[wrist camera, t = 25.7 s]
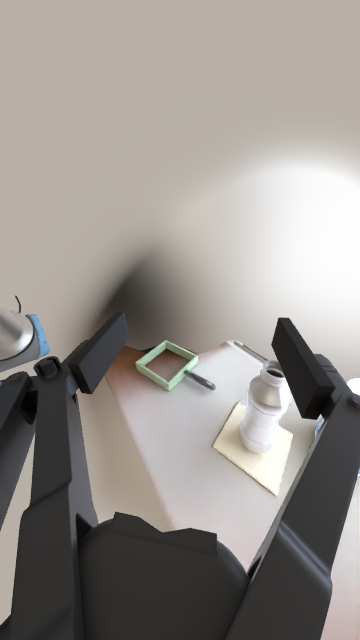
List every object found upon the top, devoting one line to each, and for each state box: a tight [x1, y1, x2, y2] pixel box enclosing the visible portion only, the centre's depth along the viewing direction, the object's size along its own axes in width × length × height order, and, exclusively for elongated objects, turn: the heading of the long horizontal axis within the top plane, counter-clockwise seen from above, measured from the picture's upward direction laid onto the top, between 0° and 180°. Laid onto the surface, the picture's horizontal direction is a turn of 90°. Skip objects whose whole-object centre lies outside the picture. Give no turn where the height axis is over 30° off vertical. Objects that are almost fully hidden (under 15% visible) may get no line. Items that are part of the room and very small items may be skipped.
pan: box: [135, 341, 215, 392], centre depth 53 cm, size 23×13×3 cm, turn 51°
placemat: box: [212, 403, 293, 496], centre depth 37 cm, size 12×12×1 cm
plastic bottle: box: [239, 360, 291, 454], centre depth 32 cm, size 6×7×20 cm
